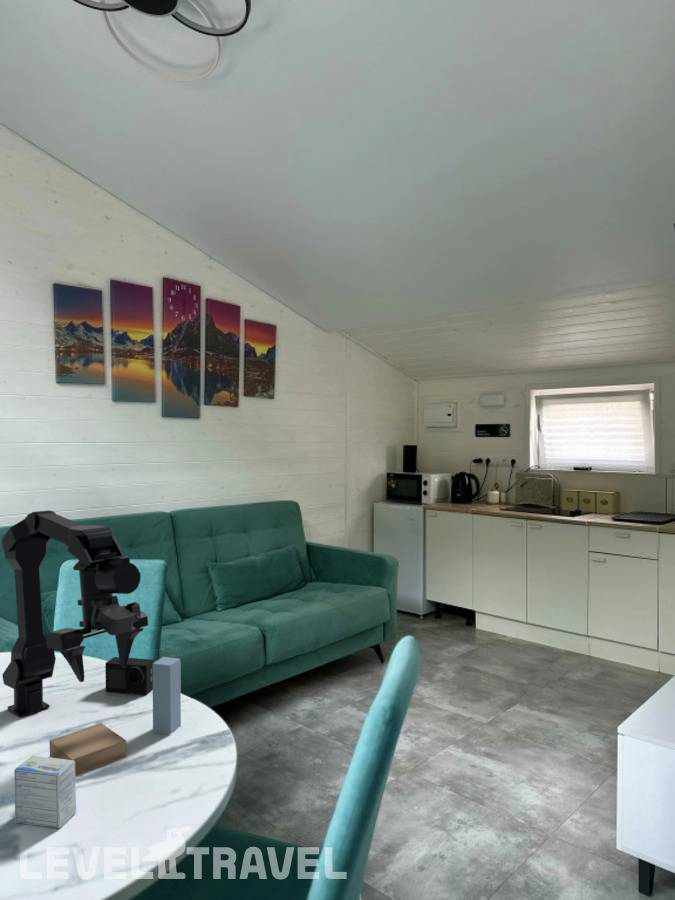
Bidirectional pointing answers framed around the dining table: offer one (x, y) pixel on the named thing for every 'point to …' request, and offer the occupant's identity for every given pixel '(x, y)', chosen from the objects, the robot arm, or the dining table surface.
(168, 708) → the slate pillar
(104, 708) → the dining table surface
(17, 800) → the medicine box
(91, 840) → the dining table surface
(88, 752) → the walnut block
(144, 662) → the digital camera
